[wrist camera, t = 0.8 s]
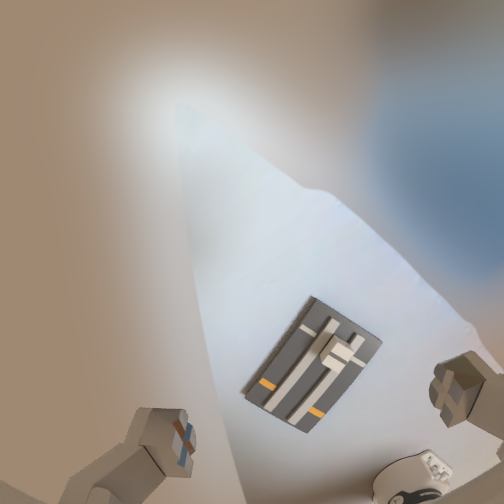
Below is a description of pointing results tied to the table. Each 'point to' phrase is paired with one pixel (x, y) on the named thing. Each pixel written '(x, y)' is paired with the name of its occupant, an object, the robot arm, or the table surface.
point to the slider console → (311, 368)
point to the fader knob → (336, 354)
